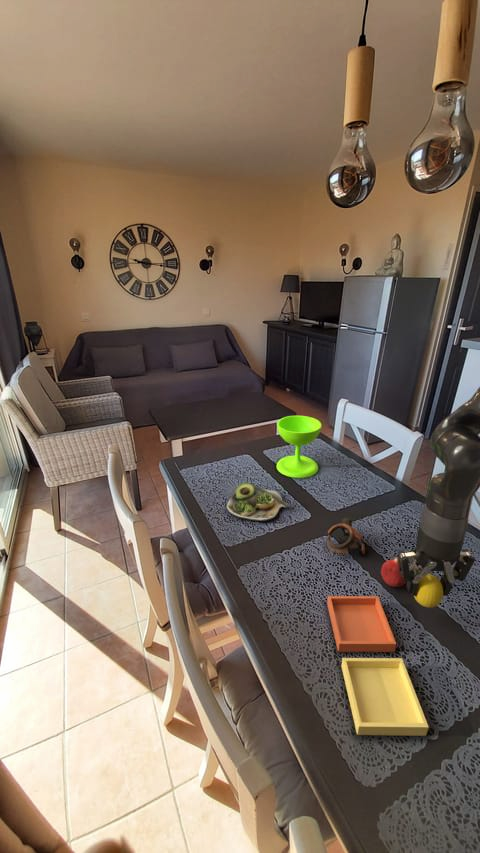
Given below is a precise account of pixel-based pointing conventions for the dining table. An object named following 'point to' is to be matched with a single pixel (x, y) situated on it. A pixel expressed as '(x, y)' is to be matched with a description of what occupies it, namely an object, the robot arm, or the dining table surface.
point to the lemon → (429, 591)
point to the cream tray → (383, 697)
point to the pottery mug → (349, 532)
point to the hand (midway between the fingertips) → (427, 592)
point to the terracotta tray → (360, 624)
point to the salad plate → (254, 503)
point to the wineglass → (298, 445)
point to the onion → (392, 573)
